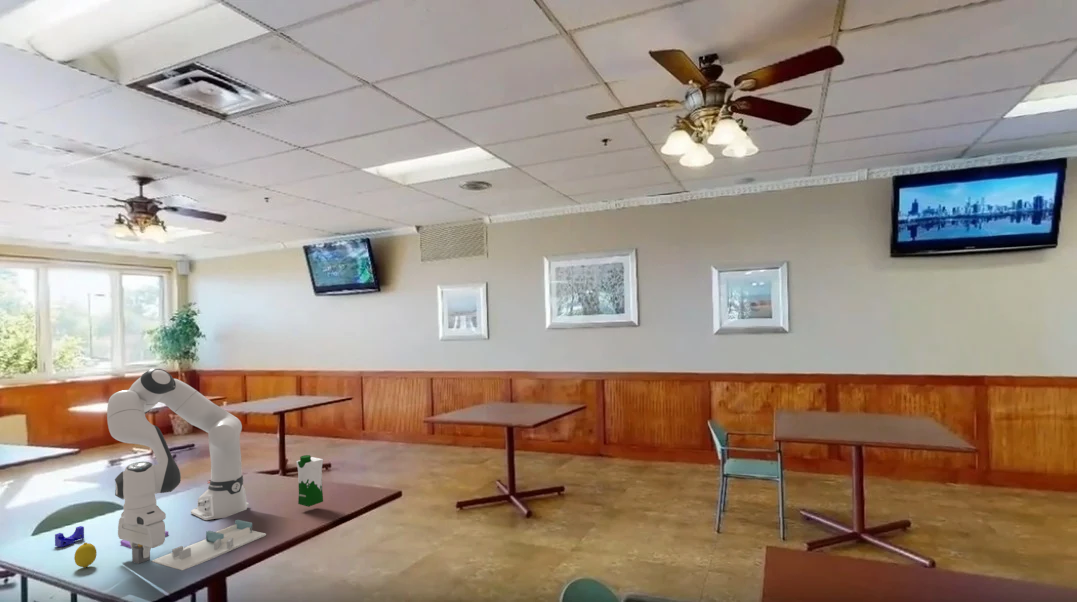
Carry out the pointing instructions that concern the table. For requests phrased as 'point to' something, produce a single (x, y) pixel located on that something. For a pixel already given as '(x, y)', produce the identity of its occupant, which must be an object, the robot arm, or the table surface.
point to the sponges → (127, 543)
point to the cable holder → (64, 541)
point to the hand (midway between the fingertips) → (141, 555)
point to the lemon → (85, 555)
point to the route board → (203, 551)
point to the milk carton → (310, 480)
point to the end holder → (230, 532)
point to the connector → (138, 554)
